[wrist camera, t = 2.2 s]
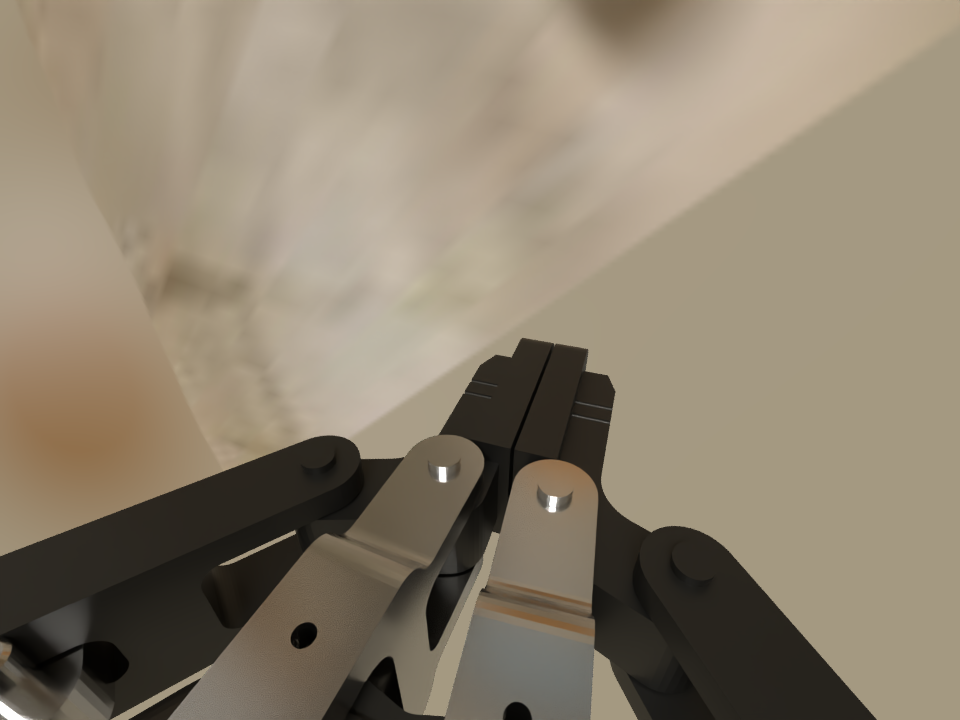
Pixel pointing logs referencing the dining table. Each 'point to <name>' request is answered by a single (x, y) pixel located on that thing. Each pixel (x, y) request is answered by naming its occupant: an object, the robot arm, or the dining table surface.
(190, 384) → the dining table surface
